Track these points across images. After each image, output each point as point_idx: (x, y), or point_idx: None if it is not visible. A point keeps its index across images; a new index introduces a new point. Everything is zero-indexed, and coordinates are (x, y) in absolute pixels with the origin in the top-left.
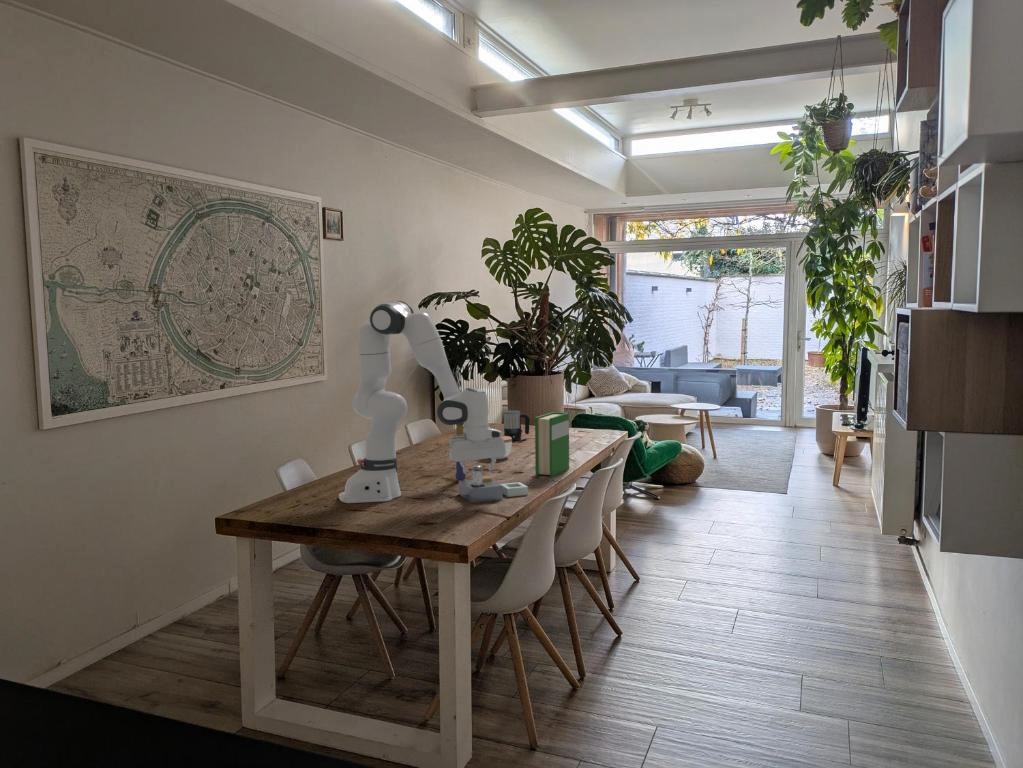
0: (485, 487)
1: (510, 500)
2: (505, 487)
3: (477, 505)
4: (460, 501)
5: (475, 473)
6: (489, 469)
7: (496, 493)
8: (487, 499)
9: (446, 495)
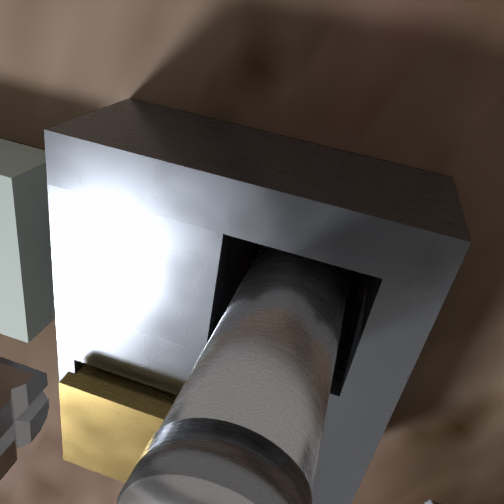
0: (257, 185)
1: (77, 22)
2: (16, 229)
3: (467, 36)
4: (491, 284)
5: (304, 424)
6: (38, 384)
7: (157, 127)
8: (271, 138)
9: (445, 478)
